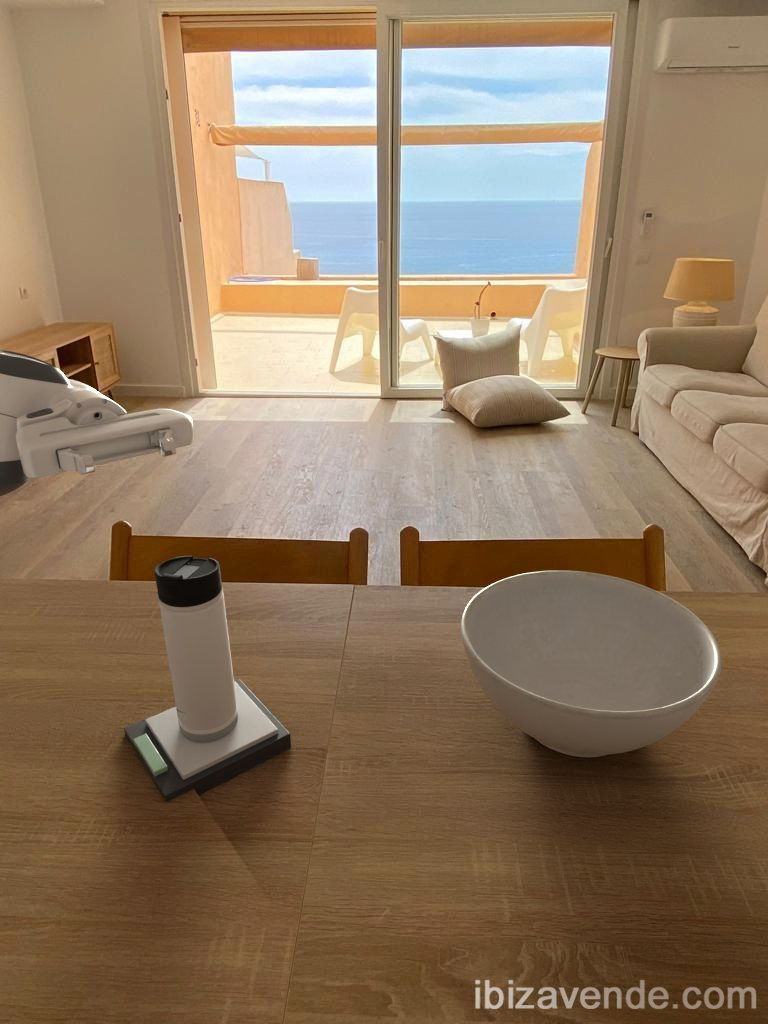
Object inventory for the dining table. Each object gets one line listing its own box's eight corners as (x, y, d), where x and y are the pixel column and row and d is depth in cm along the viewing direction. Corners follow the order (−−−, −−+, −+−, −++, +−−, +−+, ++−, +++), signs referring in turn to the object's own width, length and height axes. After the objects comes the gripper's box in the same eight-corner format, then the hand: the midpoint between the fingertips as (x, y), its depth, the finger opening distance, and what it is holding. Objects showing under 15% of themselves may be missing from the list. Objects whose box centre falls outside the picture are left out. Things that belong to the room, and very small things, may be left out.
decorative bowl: (508, 628, 96) (513, 551, 91) (717, 691, 84) (737, 605, 79) (415, 749, 75) (417, 657, 70) (676, 856, 63) (699, 754, 58)
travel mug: (167, 740, 73) (137, 575, 65) (196, 700, 79) (173, 543, 71) (221, 749, 72) (199, 582, 64) (247, 708, 78) (229, 550, 70)
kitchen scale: (167, 811, 68) (164, 791, 67) (126, 742, 77) (122, 723, 76) (291, 747, 76) (290, 729, 75) (241, 691, 84) (239, 674, 83)
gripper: (174, 436, 96) (217, 463, 86) (13, 469, 85) (41, 505, 75) (167, 391, 93) (211, 414, 83) (1, 419, 82) (29, 449, 72)
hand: (130, 457), depth 79 cm, fingers open, 8 cm apart
